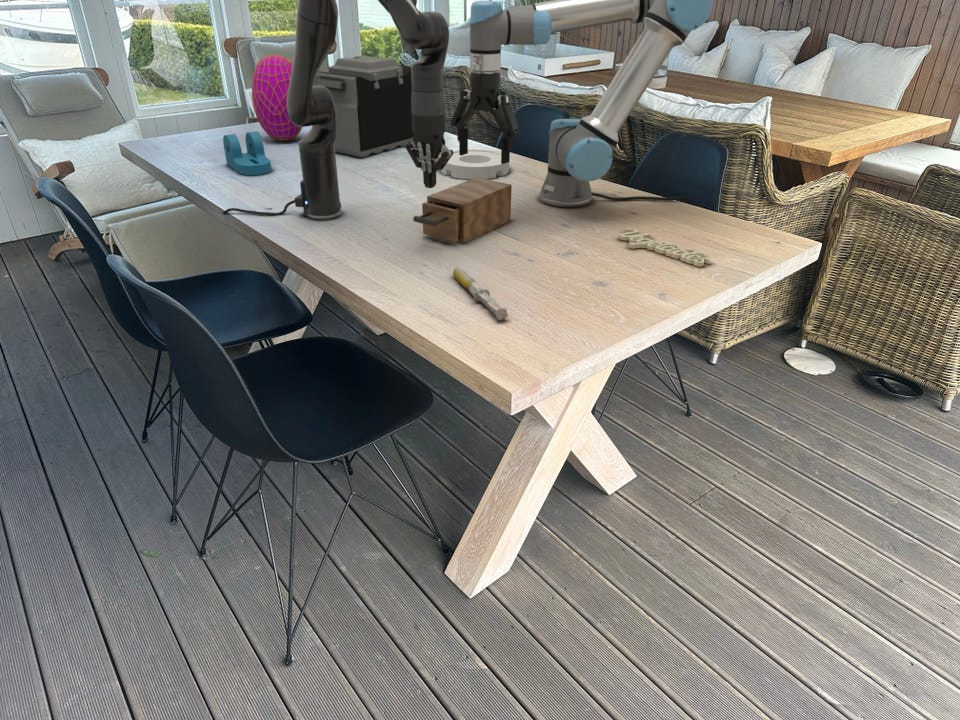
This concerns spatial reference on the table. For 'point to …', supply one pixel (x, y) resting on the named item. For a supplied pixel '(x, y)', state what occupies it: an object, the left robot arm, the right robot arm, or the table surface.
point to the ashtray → (476, 165)
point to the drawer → (440, 221)
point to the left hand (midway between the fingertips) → (430, 187)
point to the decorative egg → (273, 97)
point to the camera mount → (246, 154)
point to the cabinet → (477, 205)
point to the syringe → (479, 293)
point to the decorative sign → (663, 247)
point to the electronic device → (369, 104)
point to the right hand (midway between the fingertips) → (484, 158)
